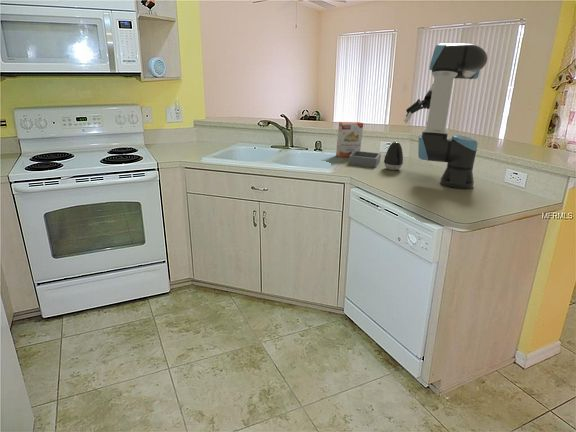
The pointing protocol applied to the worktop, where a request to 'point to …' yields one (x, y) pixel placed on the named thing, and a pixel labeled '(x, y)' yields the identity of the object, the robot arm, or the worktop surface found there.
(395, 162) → the dark rounded piece
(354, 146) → the cracker box
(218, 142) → the worktop surface
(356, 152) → the drying tray
